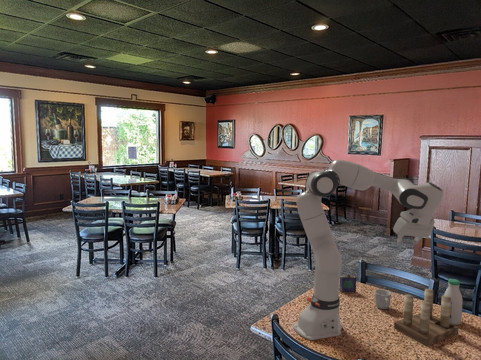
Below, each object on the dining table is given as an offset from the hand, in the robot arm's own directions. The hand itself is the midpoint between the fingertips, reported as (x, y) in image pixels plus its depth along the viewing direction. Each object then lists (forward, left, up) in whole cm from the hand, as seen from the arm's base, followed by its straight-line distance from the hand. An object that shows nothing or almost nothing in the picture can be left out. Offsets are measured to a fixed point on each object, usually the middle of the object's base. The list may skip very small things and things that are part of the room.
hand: (406, 242), depth 161 cm
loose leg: (+8, -15, -38) cm, 41 cm away
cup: (+2, +13, -38) cm, 40 cm away
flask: (+1, +37, -38) cm, 53 cm away
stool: (+1, -11, -38) cm, 39 cm away
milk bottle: (+20, -11, -38) cm, 44 cm away
